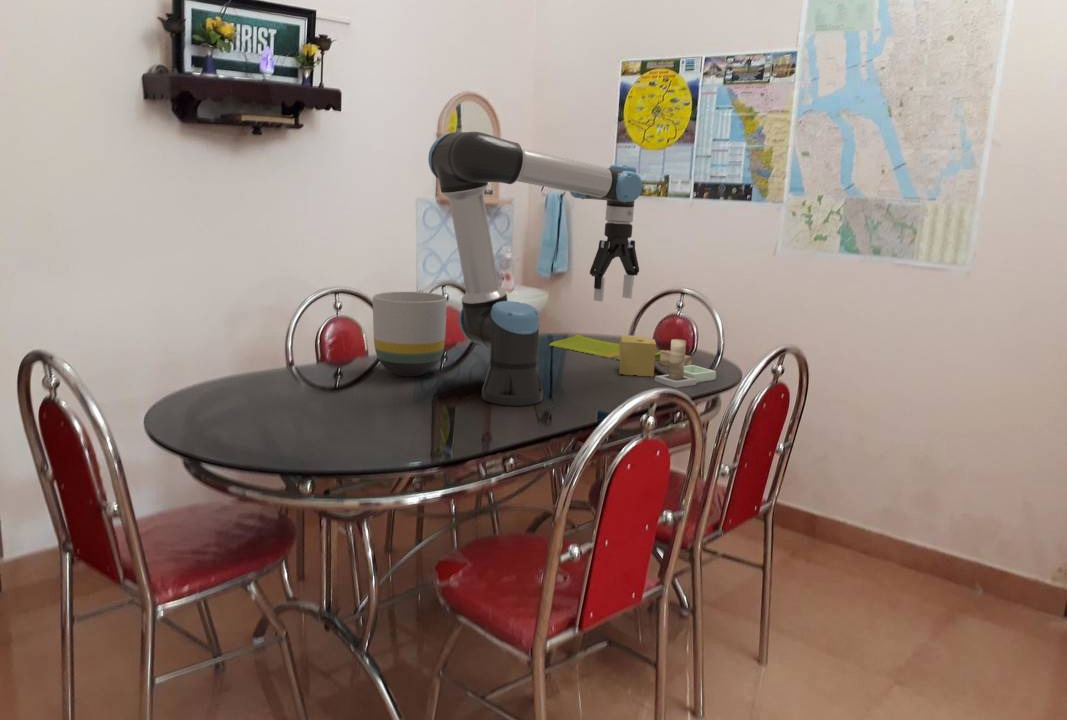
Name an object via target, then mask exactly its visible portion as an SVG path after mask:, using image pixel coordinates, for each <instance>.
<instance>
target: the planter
mask: <svg viewBox="0 0 1067 720" xmlns="http://www.w3.org/2000/svg"><path fill="white" fill-rule="evenodd" d="M447 298H448V297H446V296H445V295H443V294H439V293H433V292H425V291H388V292H380V293H375V294H374V295H373V297H372V327H373V344H374V350H375V351H374V352H375V354H376V357H377V360H378V361H379V363H380V364H381V365H382V366H383V367H384V369H386V370H387V371H389V372H391V373H392V374H395V375H398V376H402V377H415V376H416V377H418V376H422V375H425V374H426V373H429V372H430V371H431V370H433V368H435V367H436V366H437V365H438V364H439V362H440V361H441V358H442V356H443V353H444V349H445V343H446V342H445V341H446V329H447V328H446V327H447V326H446V325H447V306H448V304H447V302H448V301H447Z"/></svg>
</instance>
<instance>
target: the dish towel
mask: <svg viewBox="0 0 1067 720" xmlns="http://www.w3.org/2000/svg"><path fill="white" fill-rule="evenodd" d="M548 346H549V347H551V346H554V347H553V348H556V347H558V348H557V349H561V348H563V349H562V350H566V349H569V350H568V351H571V350H574V351H573V352H575V351H578V352H577V353H580V352H584V353H583V354H585V353H589V354H588V355H590V354H594V355H598V356H597V357H599V356H603V357H602V358H604V357H608V358H612V359H611V360H613V359H616V360H615V361H618V360H620V357H619V343H616V342H611V341H603V340H599V339H597V338H596V339H594V338H591V337H586V336H583V335H580V334H577V333H576V334H575V335H574V336H571V337H568V338H565V339H559V340H555V341H553V342H552V341H551V342H550V343H549V344H548ZM661 351H665V349H658V350H656V351H655V362H656V361H660V353H661ZM594 355H593V356H594ZM608 358H607V359H608Z"/></svg>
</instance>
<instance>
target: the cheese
mask: <svg viewBox="0 0 1067 720" xmlns="http://www.w3.org/2000/svg"><path fill="white" fill-rule="evenodd" d="M618 344H619V357H620V361H619V370H618V371H619V375H620V374H623V376H633V375H637V377H649V376H650V377H651V378H653V377H654V373H655V362H656V361H655V351H657V350H656V349H657V343H656V339H653V338H652V339H651V338H646V337H644V336H637V335H630V334H620V337H619V342H618Z"/></svg>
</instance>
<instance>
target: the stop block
mask: <svg viewBox="0 0 1067 720" xmlns="http://www.w3.org/2000/svg"><path fill="white" fill-rule="evenodd" d="M670 351H671V350H668V349H667V350H664V351H661V353H660V360H659V364H660V365H662V366H665V367H668V368H669V364H670ZM692 358H693V357H692V356H690V355H687V354H685V361H684V366H689V365H692Z"/></svg>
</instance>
